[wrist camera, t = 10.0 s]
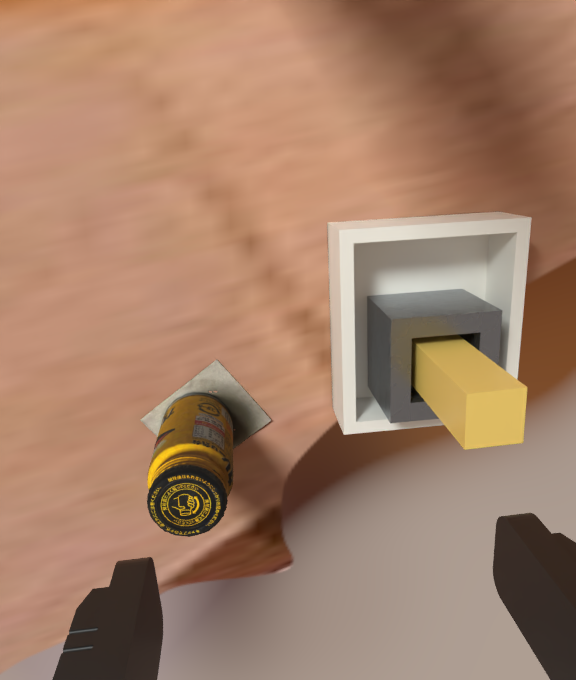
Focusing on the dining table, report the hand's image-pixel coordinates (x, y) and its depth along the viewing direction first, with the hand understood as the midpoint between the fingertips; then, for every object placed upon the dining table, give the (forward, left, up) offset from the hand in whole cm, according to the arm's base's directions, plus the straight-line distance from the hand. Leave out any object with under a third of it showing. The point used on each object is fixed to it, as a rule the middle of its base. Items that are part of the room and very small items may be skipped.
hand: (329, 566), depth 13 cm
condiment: (+12, -5, -33) cm, 36 cm away
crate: (+4, +13, -33) cm, 35 cm away
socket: (+6, +13, -32) cm, 35 cm away
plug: (+6, +13, -29) cm, 32 cm away
